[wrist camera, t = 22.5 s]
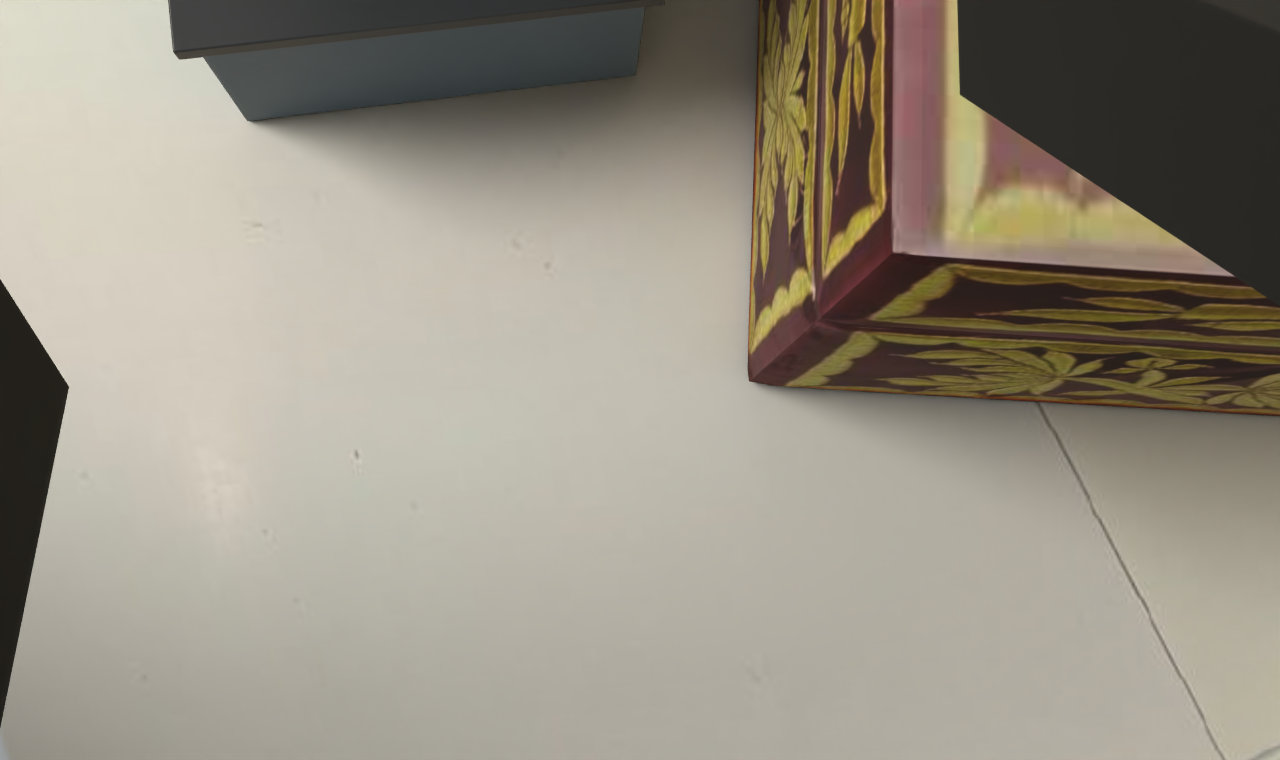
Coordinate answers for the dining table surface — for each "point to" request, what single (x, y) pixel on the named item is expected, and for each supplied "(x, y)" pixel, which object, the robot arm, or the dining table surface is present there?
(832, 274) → the decorative box
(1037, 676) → the dining table surface
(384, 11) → the container
